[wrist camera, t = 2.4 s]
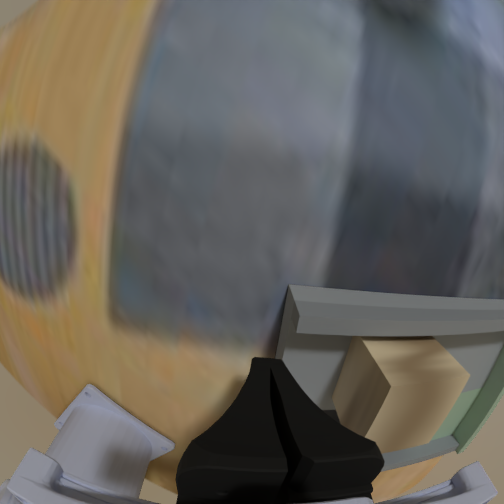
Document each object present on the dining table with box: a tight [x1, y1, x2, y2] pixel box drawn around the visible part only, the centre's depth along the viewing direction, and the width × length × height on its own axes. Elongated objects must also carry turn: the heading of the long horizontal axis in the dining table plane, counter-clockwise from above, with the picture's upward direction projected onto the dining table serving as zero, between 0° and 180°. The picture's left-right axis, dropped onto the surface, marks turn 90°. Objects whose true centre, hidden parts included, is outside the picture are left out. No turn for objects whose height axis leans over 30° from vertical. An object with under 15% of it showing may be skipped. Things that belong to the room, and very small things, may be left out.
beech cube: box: [332, 336, 470, 454], centre depth 11 cm, size 4×4×4 cm
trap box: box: [275, 284, 504, 471], centre depth 14 cm, size 18×13×4 cm
